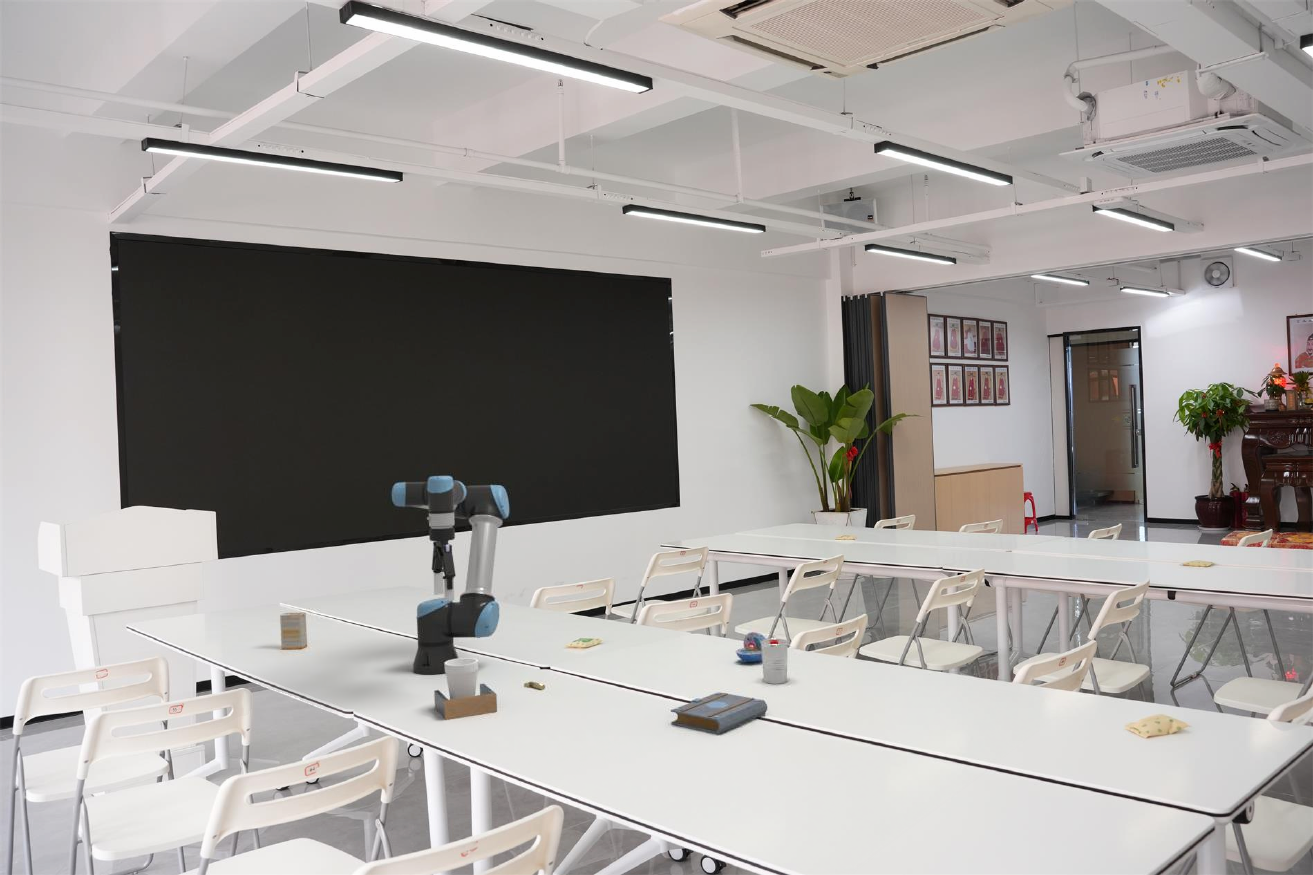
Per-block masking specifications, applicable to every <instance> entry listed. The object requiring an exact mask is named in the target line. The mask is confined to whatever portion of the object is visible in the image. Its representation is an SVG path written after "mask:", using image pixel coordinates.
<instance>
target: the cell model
mask: <svg viewBox="0 0 1313 875" xmlns="http://www.w3.org/2000/svg"><path fill="white" fill-rule="evenodd" d="M743 638H744V639H743V647H741V648H739V649H736V650H735V654H736V655H737V657H738V658H739V659H740V660H741V661H743V662H746V663H757V662H760V661H762V650H761V645H759V644H761V643H760V641H762V640H765V639H767V638H766V637H765V636H764V635H763V634H762V633H759V632H757V631H750V632H748V633H747V634H746V635H745V636H744V637H743Z"/></svg>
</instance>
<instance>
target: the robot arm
mask: <svg viewBox="0 0 1313 875" xmlns="http://www.w3.org/2000/svg"><path fill="white" fill-rule="evenodd" d="M391 500H392V504H394V506H395V507H402V508H405V507H413V508H419V509H420V508H421V509H425V510H428V516H427V517H426V520H427V521H428V525H429V527H430V528H429V530H428V531H429V532H428V533H429V541H430V542H432V545H433V548H432V549H433V551H432V558H431V559H432V562H431V571H432V573H433V594H434V595H435V596H436V595H437V596H438V595H443V596H444V597H438V598H434V599H429V600H425V601H422V602H421V603H419V604H418V605H417V608H416V617H415V618H416V627H417V628H416V631H417V633H416V634H417V650H416V653H415V657H414V660H413V664H412V665H413V666H412V671H413V673H416V674H418V675H419V674H421V675H439V674H446V672H445V662H446V661H448V660H452V659H458V658H459V655H458V653H457V649H456V647H455V643H454V638H456V639H457V638H458V639H459V638H466V639H467V638H477V639H481V638H489V637H491V636H492V635H494V633H496V630H497V627H498V624H499V620H500V604H499V603H498V602H497V601H496V598H495V595H493V594H492V585H493V576H494V567H495V557H496V556H495V555H496V549H497V548H496V546H497V545H496V544H497V539H498V538H497V535H498V529H499V528H500V527H501V526H502V525H503V523H504V522H503V519H507V518H508V517H509V516H510V503H509V497H508V493H507V490H506V489H505V487H504V486H503V485H499V484H498V485H497V484H494V485H493V484H490V485H489V484H488V485H487V484H486V485H484V484H483V485H464V483H463V482H461V481H460V480H454V479H453V477H452V476H451V475H433V476H429V477H428V479H427V481H412V482H411V481H410V482H407V481H403V482H397V483H396V482H395V484H394V485H393V486H392V489H391ZM455 519H460V520H461V519H462V520H463V519H464V520H466V519H467V520H468V522H469V524H470V525H471V528H472V529H471V530H472V531H471V537H470V544H469V545H470V546H469V547H470V548H469V553H468V554H469V555H468V556H469V557H468V564H467V571H466V572H467V573H466V581H465V582H466V583H465V590H464V592H462V593H460V595H459V601H455V581H454V579H455V578H456V570H455V562H454V556H453V544H449V541H453V540H455V538H456V532H455V530H456V529H455V528H454V527H453V526H455V523H456V522H455Z"/></svg>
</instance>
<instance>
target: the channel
mask: <svg viewBox="0 0 1313 875" xmlns="http://www.w3.org/2000/svg"><path fill="white" fill-rule="evenodd" d="M433 694H434V696H433V697H434V709H435V710H436V711H437V712H438V713H439V714H440V715H441V716H442V718H444V720H446V721H447V720H453V719H459V718H465V717H471V716H472V717H473V716H478V715H484V714H491V713H498V702H497V697H498V696H497V692H495V691H494V690H492V689H491V688H490V687H489V686H488V685H486V684H485V683H480V684H479V694H478V695H475V696H470V697H464V698H457V699H450V698H449V699H448V697H446V695H444V694H443V693H442V692H441V690H439V689H437V690H434V691H433Z"/></svg>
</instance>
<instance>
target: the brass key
mask: <svg viewBox="0 0 1313 875" xmlns="http://www.w3.org/2000/svg"><path fill="white" fill-rule="evenodd" d="M523 687H524V688H525V687H526V688H533V689H537V690H541V691H543V690H545V688H546V685H545V684H543V683H538V682H535V681H528V682H524V683H523Z"/></svg>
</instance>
